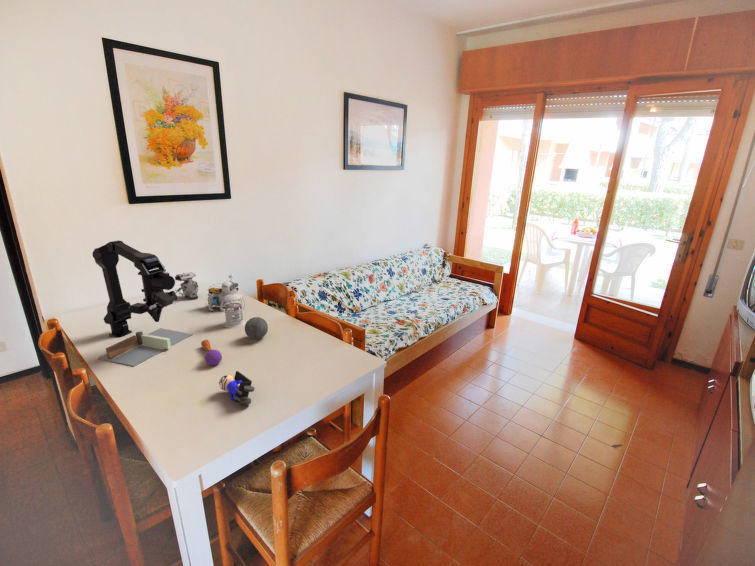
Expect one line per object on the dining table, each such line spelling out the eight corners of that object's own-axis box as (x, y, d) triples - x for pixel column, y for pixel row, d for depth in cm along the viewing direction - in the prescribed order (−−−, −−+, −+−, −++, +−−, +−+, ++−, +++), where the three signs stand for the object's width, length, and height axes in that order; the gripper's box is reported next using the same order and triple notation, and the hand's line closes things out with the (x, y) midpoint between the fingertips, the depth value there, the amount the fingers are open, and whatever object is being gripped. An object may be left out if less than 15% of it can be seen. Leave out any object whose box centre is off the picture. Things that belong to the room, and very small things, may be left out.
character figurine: (239, 412, 117) (218, 393, 127) (260, 401, 122) (238, 383, 132) (236, 392, 114) (214, 373, 124) (257, 381, 119) (234, 364, 129)
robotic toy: (235, 312, 194) (232, 285, 189) (202, 311, 194) (199, 284, 189) (243, 304, 206) (241, 278, 202) (212, 303, 206) (210, 277, 202)
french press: (219, 325, 178) (214, 276, 171) (236, 317, 188) (232, 270, 181) (235, 329, 174) (231, 278, 167) (252, 320, 185) (249, 272, 177)
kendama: (213, 336, 158) (224, 352, 142) (212, 349, 159) (222, 367, 143) (198, 336, 155) (207, 353, 139) (197, 350, 156) (205, 368, 139)
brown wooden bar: (106, 358, 144) (104, 346, 142) (141, 341, 158) (139, 331, 157) (111, 359, 143) (109, 348, 142) (145, 342, 158) (144, 332, 156)
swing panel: (145, 342, 157) (144, 334, 156) (171, 347, 154) (169, 338, 153) (142, 344, 156) (141, 335, 154) (168, 349, 152) (166, 340, 151)
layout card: (97, 358, 144) (97, 357, 144) (160, 328, 172) (160, 328, 172) (133, 366, 140) (133, 365, 140) (192, 334, 167) (192, 333, 167)
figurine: (174, 298, 211) (170, 273, 206) (195, 294, 219) (192, 269, 214) (180, 302, 205) (176, 276, 200) (201, 298, 213) (198, 273, 208)
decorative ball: (240, 339, 164) (238, 319, 161) (257, 331, 173) (255, 312, 170) (257, 345, 160) (255, 324, 157) (273, 336, 168) (272, 316, 166)
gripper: (147, 295, 138) (154, 333, 143) (185, 282, 155) (189, 316, 160) (124, 292, 141) (131, 329, 146) (164, 279, 158) (169, 312, 163)
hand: (157, 321), depth 154 cm, fingers closed
